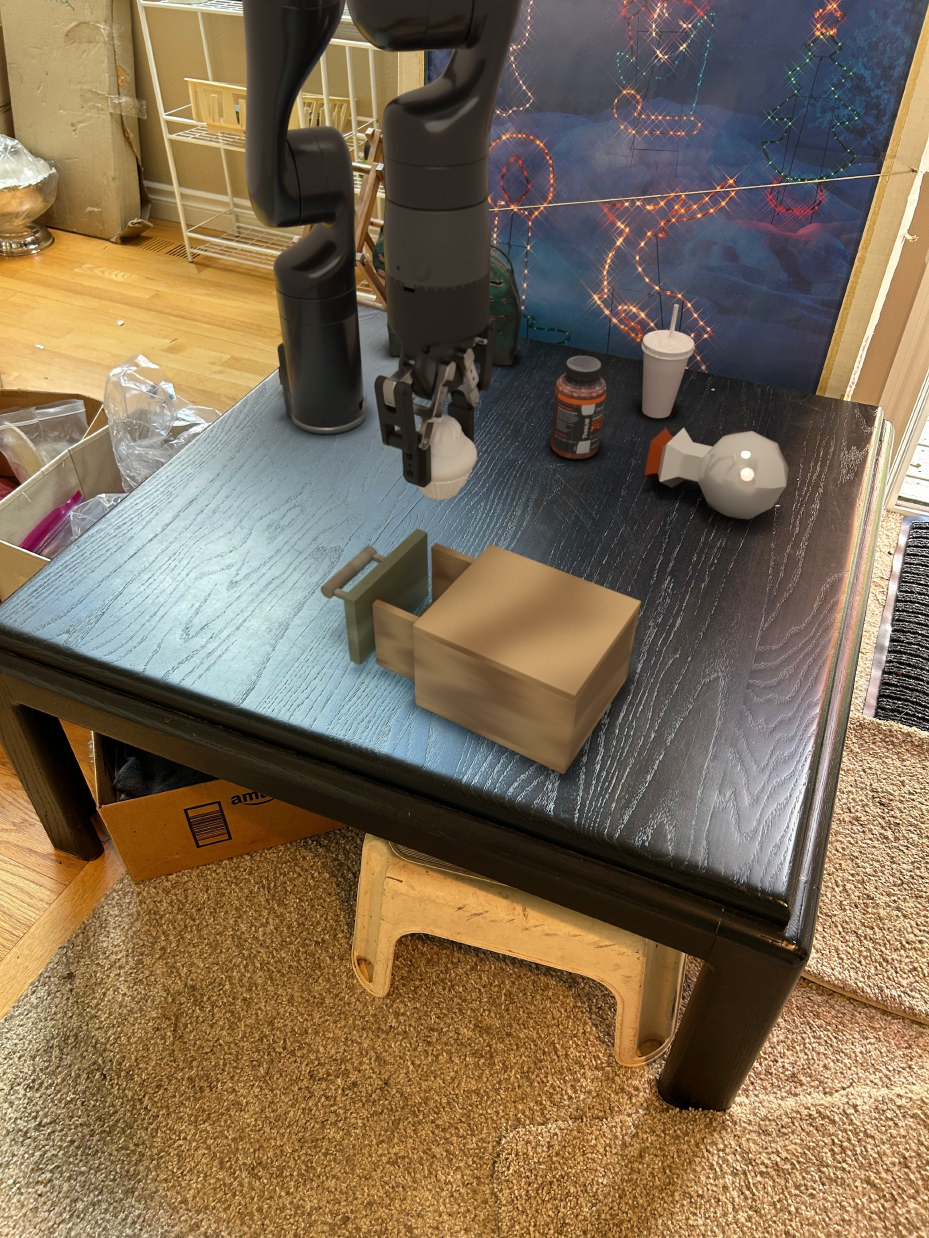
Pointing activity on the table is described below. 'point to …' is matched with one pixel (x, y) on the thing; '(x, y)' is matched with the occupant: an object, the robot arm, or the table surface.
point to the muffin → (449, 459)
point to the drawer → (393, 598)
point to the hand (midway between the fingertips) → (439, 463)
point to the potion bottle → (723, 470)
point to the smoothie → (664, 368)
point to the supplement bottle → (578, 409)
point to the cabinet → (524, 655)
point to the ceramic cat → (500, 304)
